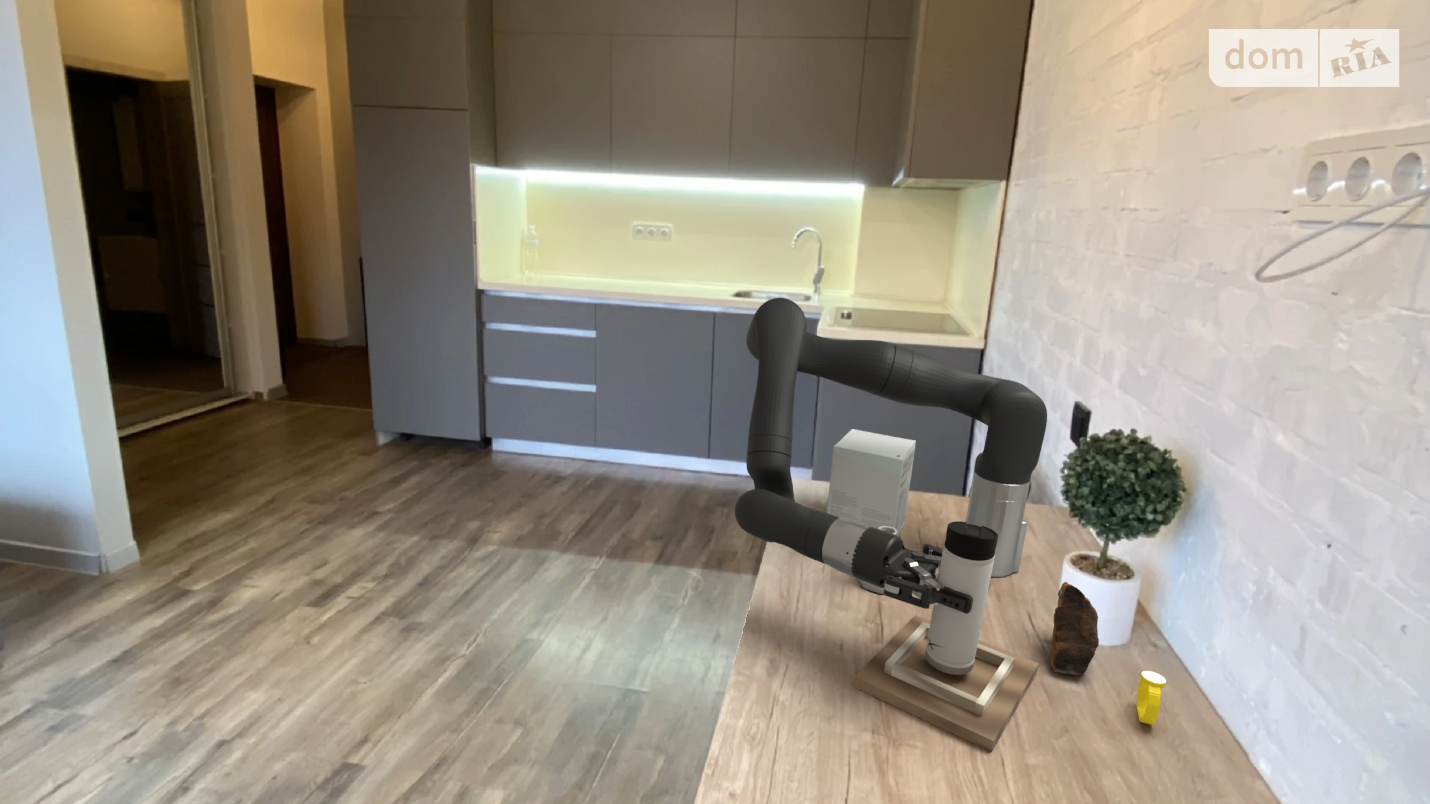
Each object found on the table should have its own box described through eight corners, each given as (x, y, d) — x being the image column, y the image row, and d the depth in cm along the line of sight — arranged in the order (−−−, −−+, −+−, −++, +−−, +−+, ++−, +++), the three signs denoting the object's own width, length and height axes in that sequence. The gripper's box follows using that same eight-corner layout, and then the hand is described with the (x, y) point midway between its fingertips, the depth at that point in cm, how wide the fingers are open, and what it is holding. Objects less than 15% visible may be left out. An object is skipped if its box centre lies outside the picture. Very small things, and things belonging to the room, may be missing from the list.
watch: (1128, 702, 99) (1137, 661, 97) (1152, 708, 98) (1161, 667, 96) (1135, 727, 93) (1145, 684, 92) (1160, 734, 92) (1170, 691, 91)
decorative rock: (1048, 630, 114) (1061, 567, 111) (1091, 643, 111) (1106, 578, 108) (1043, 672, 103) (1057, 603, 100) (1091, 687, 101) (1107, 616, 98)
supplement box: (906, 522, 149) (918, 440, 144) (891, 548, 138) (904, 459, 133) (842, 507, 154) (851, 427, 150) (823, 531, 143) (832, 445, 138)
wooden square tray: (913, 623, 113) (916, 606, 112) (1036, 672, 103) (1040, 654, 102) (853, 686, 98) (856, 666, 97) (991, 751, 87) (995, 730, 87)
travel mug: (921, 668, 98) (945, 530, 92) (928, 642, 104) (950, 510, 98) (971, 683, 96) (998, 542, 90) (974, 655, 101) (1000, 521, 96)
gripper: (841, 544, 98) (966, 590, 89) (887, 512, 109) (1002, 550, 100) (834, 594, 100) (956, 645, 91) (880, 558, 111) (993, 599, 102)
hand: (980, 595), depth 95 cm, fingers closed on travel mug, 6 cm apart
